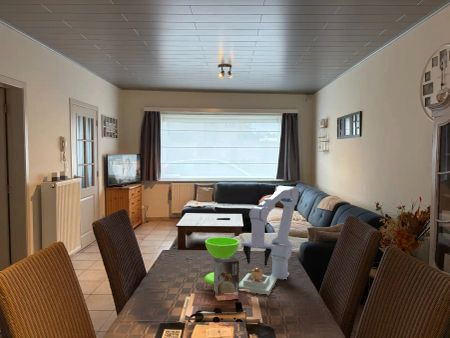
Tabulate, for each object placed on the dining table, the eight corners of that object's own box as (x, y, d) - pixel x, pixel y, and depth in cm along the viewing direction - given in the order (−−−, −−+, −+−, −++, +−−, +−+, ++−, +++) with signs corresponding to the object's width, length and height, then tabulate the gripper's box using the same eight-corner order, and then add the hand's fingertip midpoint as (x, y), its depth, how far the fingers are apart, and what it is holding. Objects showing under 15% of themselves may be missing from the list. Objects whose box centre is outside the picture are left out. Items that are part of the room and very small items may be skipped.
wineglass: (235, 286, 160) (236, 246, 160) (200, 283, 164) (201, 244, 163) (240, 274, 176) (241, 238, 175) (209, 272, 179) (209, 236, 178)
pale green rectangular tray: (247, 277, 173) (248, 269, 173) (276, 281, 168) (277, 272, 168) (236, 290, 156) (237, 281, 156) (268, 295, 151) (269, 286, 151)
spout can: (252, 280, 163) (252, 266, 163) (263, 281, 162) (263, 267, 161) (249, 284, 158) (250, 269, 158) (261, 285, 157) (261, 270, 156)
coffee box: (234, 293, 152) (235, 256, 152) (238, 299, 146) (239, 260, 145) (213, 295, 150) (214, 257, 149) (216, 302, 144) (217, 262, 143)
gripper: (239, 234, 158) (238, 264, 158) (272, 237, 153) (271, 268, 154) (244, 231, 164) (243, 260, 165) (275, 234, 160) (274, 264, 160)
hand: (257, 264), depth 160 cm, fingers open, 7 cm apart
